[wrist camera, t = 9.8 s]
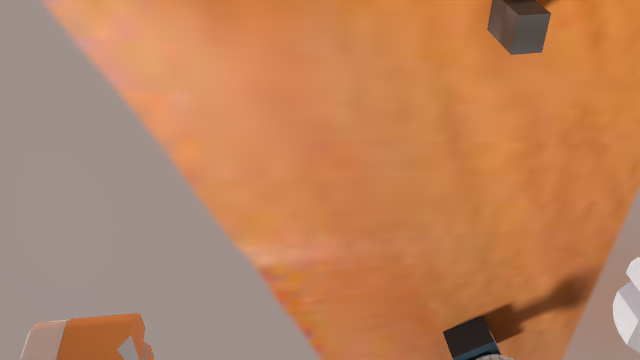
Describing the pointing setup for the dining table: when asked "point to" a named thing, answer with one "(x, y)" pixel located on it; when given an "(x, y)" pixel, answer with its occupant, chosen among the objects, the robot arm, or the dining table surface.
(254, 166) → the dining table surface
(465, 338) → the watch
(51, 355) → the robot arm
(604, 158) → the dining table surface
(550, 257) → the dining table surface
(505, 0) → the hammer
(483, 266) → the dining table surface
